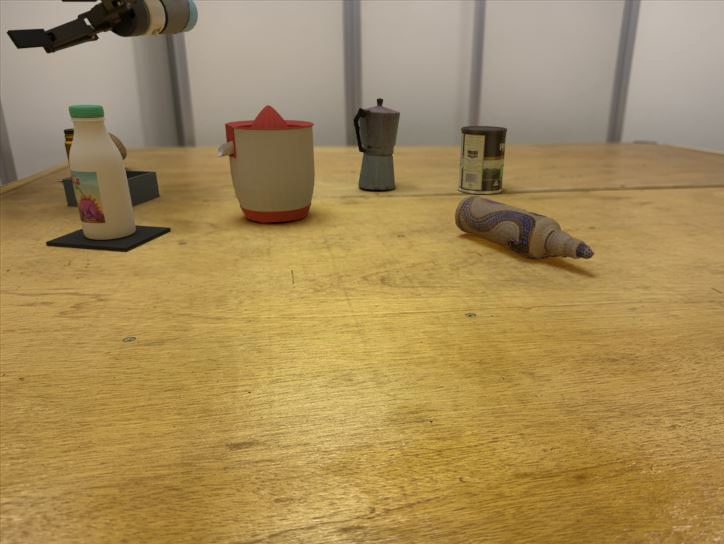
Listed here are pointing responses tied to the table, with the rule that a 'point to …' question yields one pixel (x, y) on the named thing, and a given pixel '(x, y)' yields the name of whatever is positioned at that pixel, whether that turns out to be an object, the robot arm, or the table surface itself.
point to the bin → (139, 184)
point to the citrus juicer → (271, 166)
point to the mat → (118, 244)
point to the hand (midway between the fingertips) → (34, 16)
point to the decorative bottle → (518, 229)
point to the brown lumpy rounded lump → (119, 145)
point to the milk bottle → (99, 177)
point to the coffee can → (482, 159)
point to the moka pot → (377, 145)
